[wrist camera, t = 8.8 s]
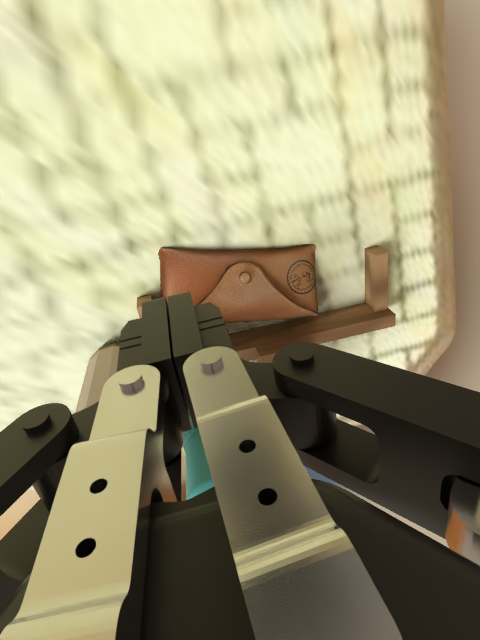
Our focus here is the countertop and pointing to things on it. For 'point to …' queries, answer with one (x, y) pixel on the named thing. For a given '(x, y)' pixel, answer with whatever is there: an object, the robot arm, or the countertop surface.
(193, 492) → the beverage bottle
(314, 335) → the display cradle
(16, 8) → the countertop surface
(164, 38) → the countertop surface
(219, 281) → the sunglasses case
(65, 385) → the countertop surface
